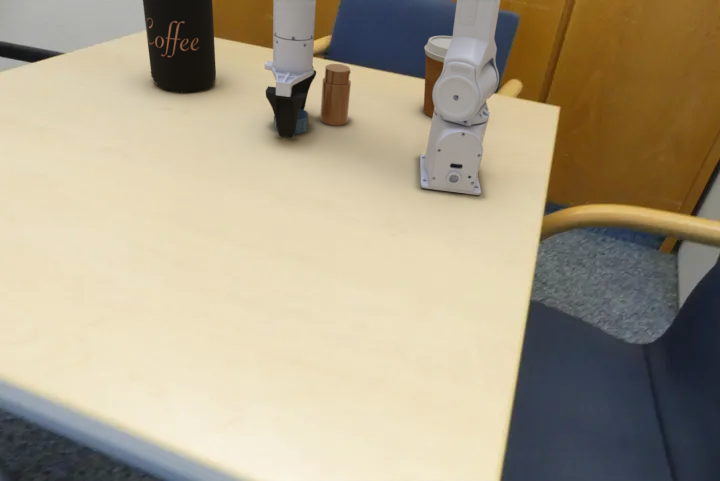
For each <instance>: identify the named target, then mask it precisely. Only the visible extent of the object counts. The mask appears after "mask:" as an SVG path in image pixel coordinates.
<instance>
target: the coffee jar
mask: <svg viewBox="0 0 720 481" xmlns="http://www.w3.org/2000/svg"><path fill="white" fill-rule="evenodd" d="M142 4H143V14H144V23H145V31H146V41H147V48H148V56H149V67H150V75H151V78H152V80H153V81H154V83H155V84H156V86H157V87H158V88H161V89H162V90H165V91H168V92H172V93H173V92H174V93H188V94H189V93H197V92H202V91H206V90H208V89H210V88H211V87H212V86H213V84H214V82H215V81H216V78H217V72H216V71H217V69H216V68H217V67H216V51H215V50H216V49H215V48H216V47H215V46H216V45H215V29H214V26H215V25H214V8H213V6H214V4H213V0H142Z"/></svg>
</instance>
